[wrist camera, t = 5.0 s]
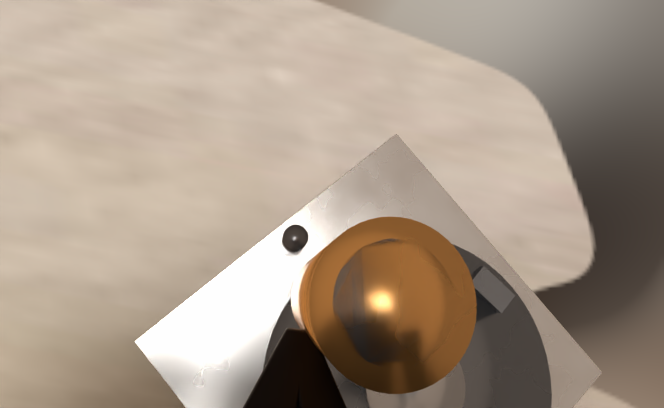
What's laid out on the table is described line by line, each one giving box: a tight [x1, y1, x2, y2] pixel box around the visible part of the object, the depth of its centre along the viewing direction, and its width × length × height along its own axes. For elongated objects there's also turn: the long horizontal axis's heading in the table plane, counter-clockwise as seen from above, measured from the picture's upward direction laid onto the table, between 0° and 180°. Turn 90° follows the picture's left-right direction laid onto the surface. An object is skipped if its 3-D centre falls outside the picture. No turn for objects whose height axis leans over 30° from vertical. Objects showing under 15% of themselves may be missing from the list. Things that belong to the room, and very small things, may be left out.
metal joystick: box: [263, 217, 552, 408], centre depth 13 cm, size 12×12×12 cm
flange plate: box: [135, 134, 602, 408], centre depth 18 cm, size 15×15×3 cm
